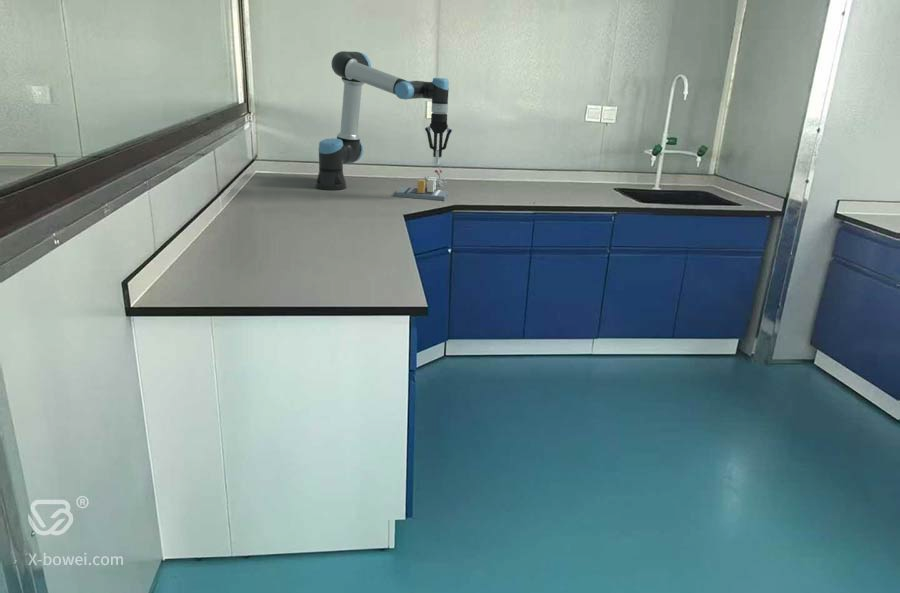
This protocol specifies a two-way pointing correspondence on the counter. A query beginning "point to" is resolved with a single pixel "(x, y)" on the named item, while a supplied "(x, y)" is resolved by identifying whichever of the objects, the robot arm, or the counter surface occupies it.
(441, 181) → the molecular model
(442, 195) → the breaker panel
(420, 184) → the toggle
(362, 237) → the counter surface
